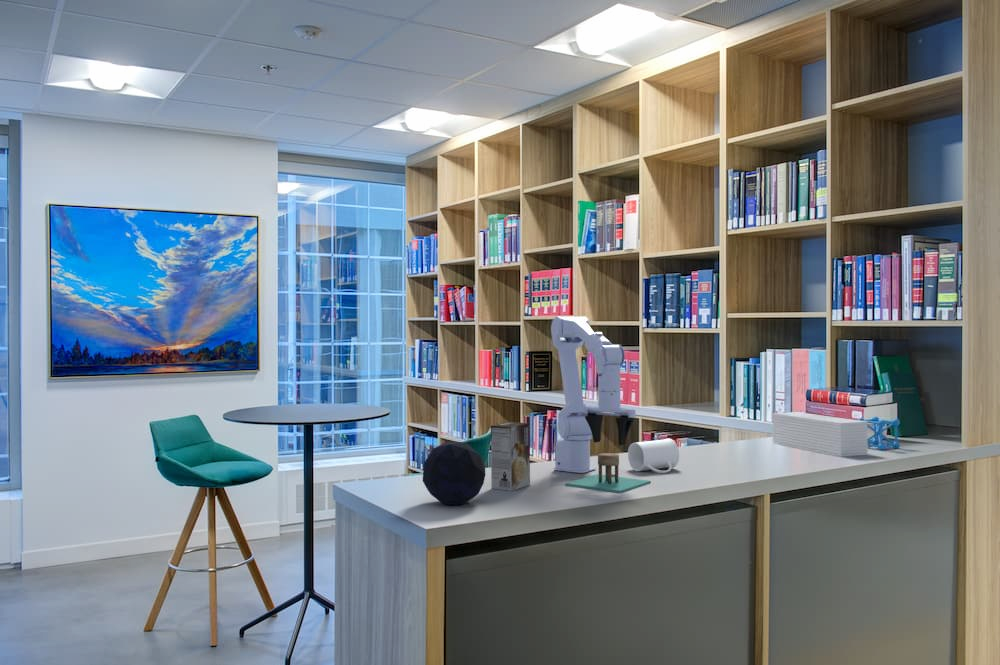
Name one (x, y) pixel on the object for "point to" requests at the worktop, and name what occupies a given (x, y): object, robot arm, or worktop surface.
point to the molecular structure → (881, 432)
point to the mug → (653, 455)
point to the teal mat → (618, 487)
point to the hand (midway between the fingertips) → (609, 443)
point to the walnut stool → (608, 466)
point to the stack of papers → (821, 433)
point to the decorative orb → (454, 473)
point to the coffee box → (510, 456)
